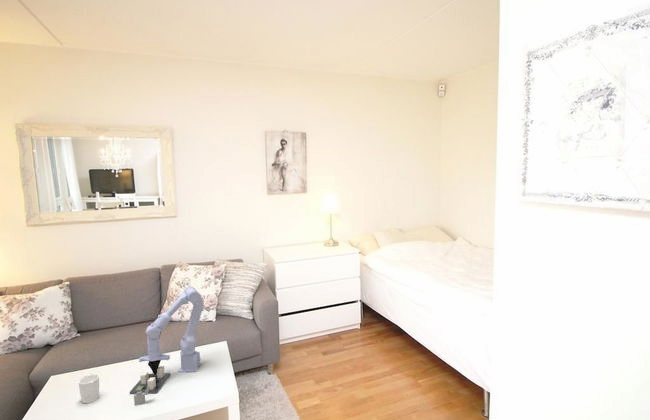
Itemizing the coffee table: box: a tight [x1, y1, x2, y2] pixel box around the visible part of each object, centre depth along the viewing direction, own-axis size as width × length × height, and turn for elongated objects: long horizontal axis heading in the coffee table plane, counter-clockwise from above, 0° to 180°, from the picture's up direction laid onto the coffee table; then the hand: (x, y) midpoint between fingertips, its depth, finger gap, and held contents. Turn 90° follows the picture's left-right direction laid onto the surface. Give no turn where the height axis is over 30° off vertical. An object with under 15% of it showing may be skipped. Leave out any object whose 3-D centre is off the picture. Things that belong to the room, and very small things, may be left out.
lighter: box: [133, 384, 151, 406], centre depth 154 cm, size 7×2×8 cm, turn 107°
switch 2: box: [147, 377, 156, 390], centre depth 163 cm, size 2×3×4 cm
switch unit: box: [129, 372, 171, 395], centre depth 168 cm, size 13×15×1 cm
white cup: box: [78, 373, 100, 404], centre depth 157 cm, size 8×8×10 cm
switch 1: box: [139, 371, 149, 384], centre depth 168 cm, size 2×3×4 cm
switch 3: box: [157, 365, 166, 378], centre depth 173 cm, size 2×3×4 cm
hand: (155, 373), depth 173 cm, fingers closed
